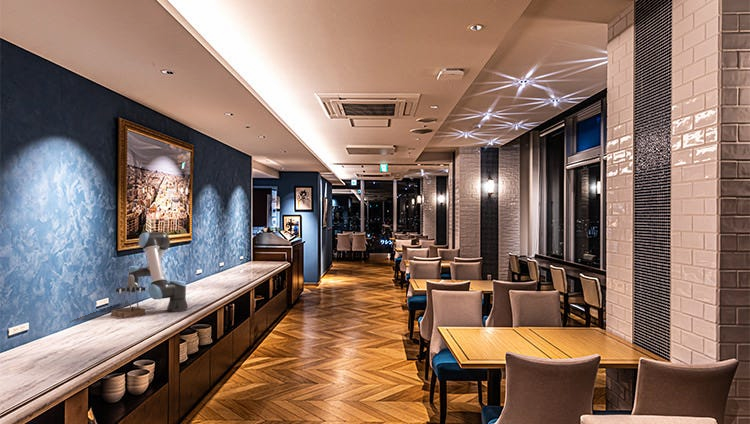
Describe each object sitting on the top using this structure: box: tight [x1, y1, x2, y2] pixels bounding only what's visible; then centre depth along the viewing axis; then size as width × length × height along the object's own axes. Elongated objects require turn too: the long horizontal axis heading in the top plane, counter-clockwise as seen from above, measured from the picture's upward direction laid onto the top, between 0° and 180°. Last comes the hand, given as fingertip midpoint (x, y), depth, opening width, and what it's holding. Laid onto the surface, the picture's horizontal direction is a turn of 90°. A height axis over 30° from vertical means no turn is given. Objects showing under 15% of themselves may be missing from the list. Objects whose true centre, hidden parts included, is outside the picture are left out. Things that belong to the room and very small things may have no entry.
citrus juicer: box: [121, 274, 140, 312], centre depth 350 cm, size 11×10×30 cm
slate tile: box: [138, 304, 155, 311], centre depth 372 cm, size 14×14×1 cm
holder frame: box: [110, 306, 146, 319], centre depth 350 cm, size 16×17×4 cm
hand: (129, 291), depth 359 cm, fingers open, 13 cm apart
